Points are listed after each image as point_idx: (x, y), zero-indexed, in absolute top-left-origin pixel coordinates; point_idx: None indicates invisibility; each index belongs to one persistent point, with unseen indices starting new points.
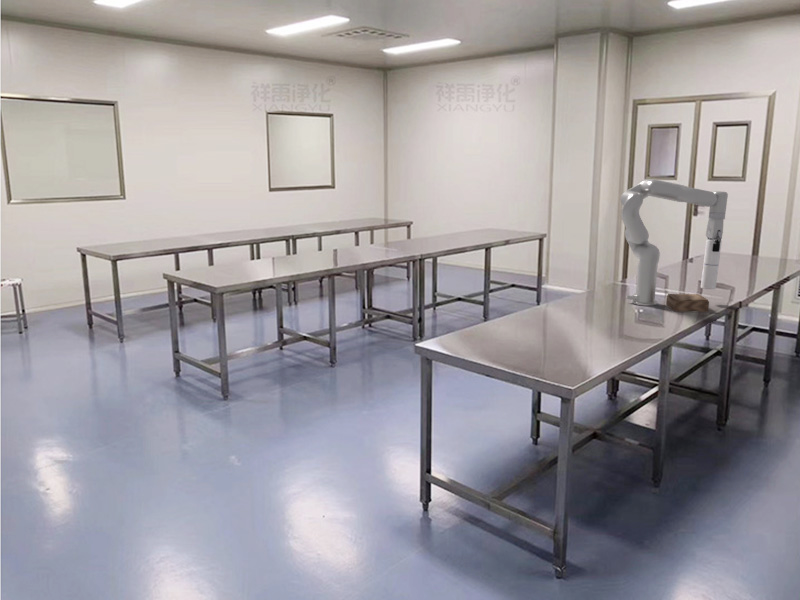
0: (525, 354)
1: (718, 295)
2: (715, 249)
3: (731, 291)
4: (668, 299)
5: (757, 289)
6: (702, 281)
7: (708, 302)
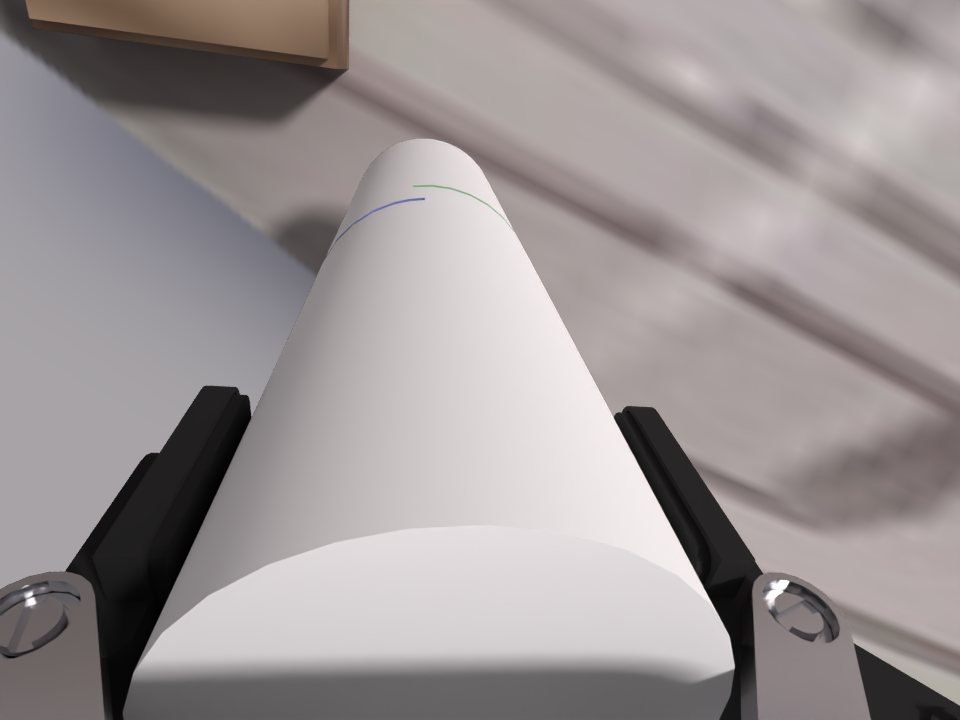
0: None
1: (653, 375)
2: (148, 464)
3: (731, 483)
4: None
5: None
6: (415, 150)
7: (37, 22)
